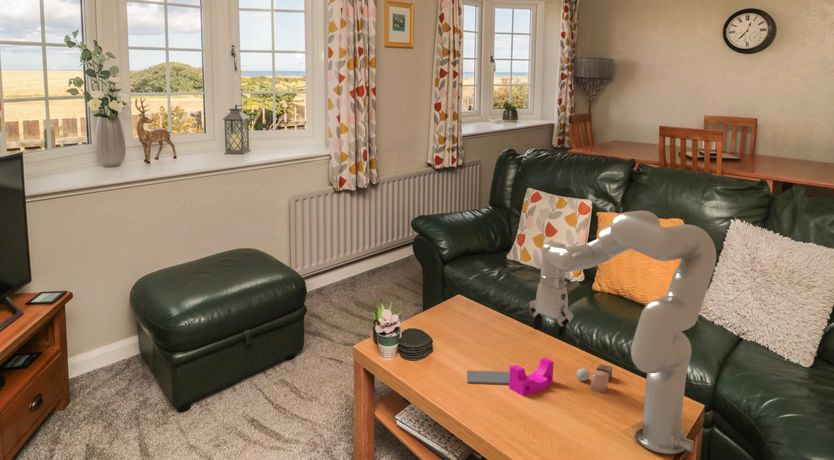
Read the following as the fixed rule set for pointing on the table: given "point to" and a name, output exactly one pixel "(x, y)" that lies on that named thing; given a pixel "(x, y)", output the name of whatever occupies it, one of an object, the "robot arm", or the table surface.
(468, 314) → the table surface
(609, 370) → the walnut cube
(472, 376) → the felt pad
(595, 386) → the beige glossy rounded block
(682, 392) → the robot arm
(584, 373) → the grey ball
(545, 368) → the toy block
